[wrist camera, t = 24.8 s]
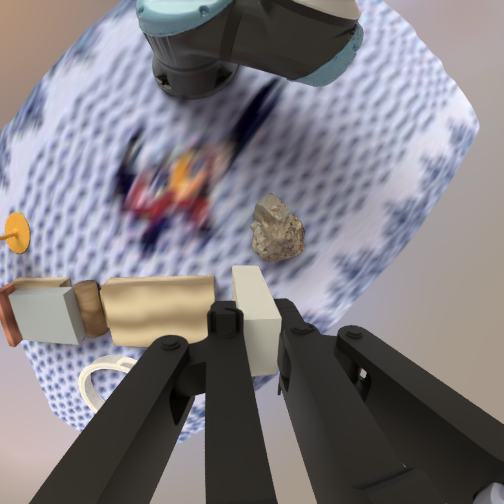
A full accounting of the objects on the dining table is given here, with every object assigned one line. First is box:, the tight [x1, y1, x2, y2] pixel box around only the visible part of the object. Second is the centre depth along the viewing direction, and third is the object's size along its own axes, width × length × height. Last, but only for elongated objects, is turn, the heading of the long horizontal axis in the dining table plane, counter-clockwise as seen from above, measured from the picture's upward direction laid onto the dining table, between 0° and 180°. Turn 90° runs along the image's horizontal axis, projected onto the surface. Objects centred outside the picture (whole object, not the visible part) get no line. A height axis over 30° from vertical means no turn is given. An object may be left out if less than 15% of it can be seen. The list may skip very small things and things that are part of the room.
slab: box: [8, 287, 87, 345], centre depth 40 cm, size 10×16×4 cm, turn 93°
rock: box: [251, 193, 305, 262], centre depth 44 cm, size 9×12×10 cm
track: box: [0, 275, 215, 347], centre depth 42 cm, size 12×46×10 cm, turn 91°
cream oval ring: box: [78, 355, 137, 413], centre depth 51 cm, size 29×22×5 cm
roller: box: [73, 280, 108, 337], centre depth 45 cm, size 10×5×5 cm
